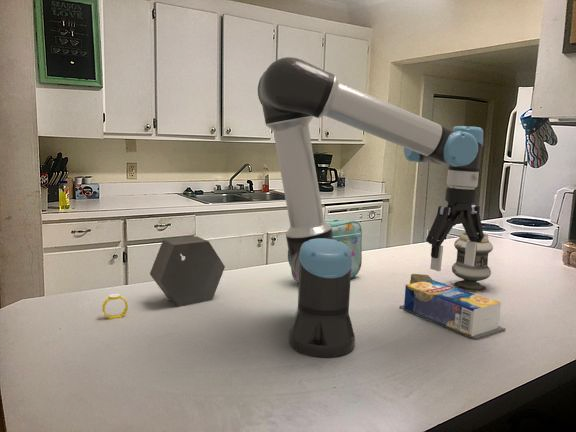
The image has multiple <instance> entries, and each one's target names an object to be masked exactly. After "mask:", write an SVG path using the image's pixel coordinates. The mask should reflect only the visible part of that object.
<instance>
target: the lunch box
mask: <svg viewBox="0 0 576 432" xmlns="http://www.w3.org/2000/svg"><path fill="white" fill-rule="evenodd" d="M324 221H325V222H326V223H328V224H329V225H330V226H331V228H332V234H333V240H337V242H342V243H344V244H346V245H347V246H348V247H349V248H350V250H351V254H352V268H351V279H352V278H355V277H356V276H357V275H358V274H359V272H360V270H361V267H362V262H363V261H362V259H363V257H362V256H363V255H362V253H363V252H362V249H363V248H362V247H363V245H362V238H363V234H362V233H363V230H362V225H361V224H360V222H358V221H357V220H354V219H353V220H346V219H339V218H328V219H324ZM290 271H291V276H292V278H293V280H294V281H295V282H297V283H299V280H298V278H297V276H296V274H295V272H294V271H293V270H292V269H291V268H290Z"/></svg>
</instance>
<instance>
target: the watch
mask: <svg viewBox="0 0 576 432" xmlns="http://www.w3.org/2000/svg"><path fill="white" fill-rule="evenodd" d="M119 299H121V300H122V301H124V303H125V304H124V306H125V307H124V309H123V311H122V312H121V313H120V314H114V315H110V314H108V313H106V311H105V310H106V306H107V304H108V302H109V301H111V300H114V301H115V300H119ZM128 309H129V305H128V301H127V300H126V299H125V297H124V296H122V295H121V294H120V293H111V294H109V295H108V297H107V298H106V299H105V300H104V301H103V303H102V312H103V314H104V315H105V317H106V318H107V319H110V320H111V319H117V318H118V319H119V318H123V317H124V316H125V315H126V314H127V312H128Z"/></svg>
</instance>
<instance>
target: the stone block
mask: <svg viewBox="0 0 576 432" xmlns="http://www.w3.org/2000/svg"><path fill="white" fill-rule="evenodd" d="M428 280H433V279H432V277H431V276H430V275H428V274H420V273H419V274H418V273H412V274H410V280H409V284H412V283H417V282H422V281H428Z"/></svg>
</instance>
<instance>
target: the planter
mask: <svg viewBox="0 0 576 432" xmlns="http://www.w3.org/2000/svg"><path fill="white" fill-rule="evenodd" d="M183 257H185V258H184V259H182V258H183ZM225 267H226V266H225V264H224V262H223V261H222V260H221V257H219V255H218V254H217V252H216V250H215V249H214V247H213V245H212V244H211V243H210V240H209V241H208V240H207V239H204V238H201V237H199V236H197V235H195V236H194V235H193V236H185V237H176V238H175V237H174V238H166V239H165V238H164V239H162V242H161V245H160V247H159V249H158V253H157V254H156V257H155V260H154V262H153V265H152V268H151V269H150V272H149V276H151V278H152V279H153V281H154V282H155V283H156V285H157V286H158V288H159V289H160V290H161V292H163V294H164V295H165V297H166V298H167V299H168V300H169V301H171V302H172V303H174V304H175V305H176V306H178V307H183V306H189V305H196V304H200V303H205V302H210V301H213V299H214V297H215V294H216V292H217V290H218V287H219V284H220V281H221V278H222V276H223V273H224V271H225Z"/></svg>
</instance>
